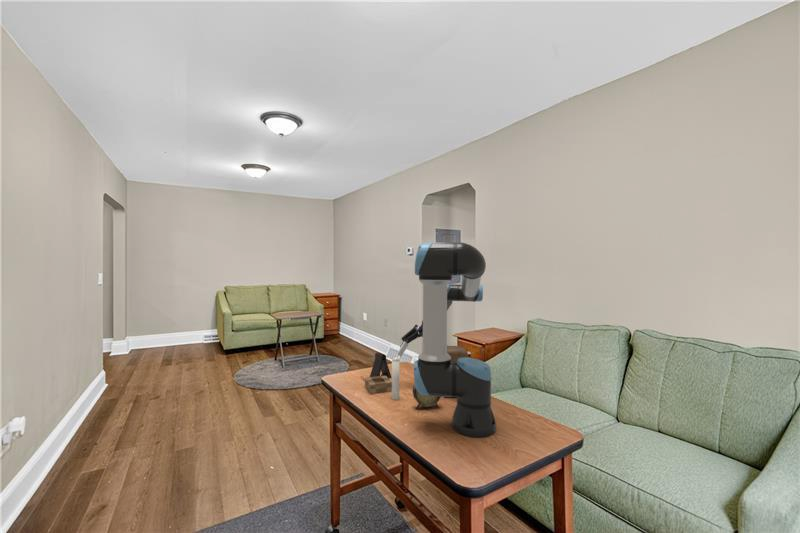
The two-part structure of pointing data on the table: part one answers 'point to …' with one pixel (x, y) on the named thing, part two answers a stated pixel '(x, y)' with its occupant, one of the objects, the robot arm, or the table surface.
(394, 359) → the needle peg
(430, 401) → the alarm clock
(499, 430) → the table surface
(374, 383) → the brown square box
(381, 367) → the door stopper
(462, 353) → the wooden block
